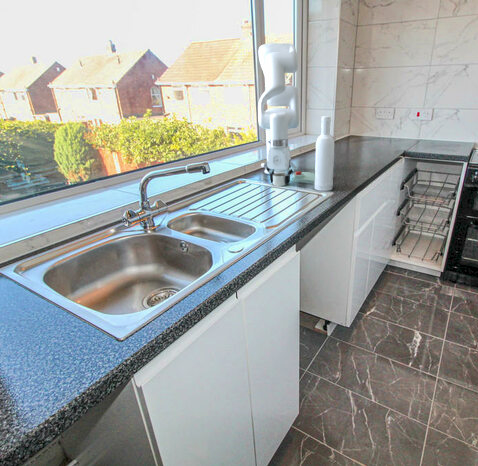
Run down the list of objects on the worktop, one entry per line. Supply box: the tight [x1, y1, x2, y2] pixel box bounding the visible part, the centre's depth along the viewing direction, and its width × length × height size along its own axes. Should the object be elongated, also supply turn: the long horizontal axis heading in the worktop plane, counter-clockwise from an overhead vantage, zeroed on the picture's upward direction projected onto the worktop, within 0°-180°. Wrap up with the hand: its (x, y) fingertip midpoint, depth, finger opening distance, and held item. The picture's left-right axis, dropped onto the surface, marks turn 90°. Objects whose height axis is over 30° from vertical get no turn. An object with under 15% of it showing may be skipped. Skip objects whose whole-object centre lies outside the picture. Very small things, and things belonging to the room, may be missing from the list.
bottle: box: [314, 115, 336, 192], centre depth 138 cm, size 8×8×30 cm
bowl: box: [272, 173, 287, 187], centre depth 150 cm, size 6×7×5 cm
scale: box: [291, 171, 315, 185], centre depth 158 cm, size 17×14×3 cm
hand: (280, 182), depth 151 cm, fingers closed on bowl, 6 cm apart
